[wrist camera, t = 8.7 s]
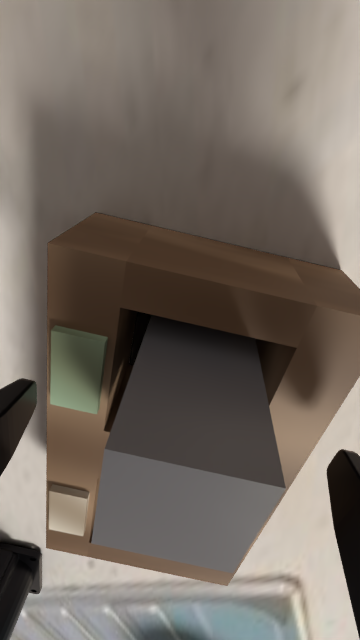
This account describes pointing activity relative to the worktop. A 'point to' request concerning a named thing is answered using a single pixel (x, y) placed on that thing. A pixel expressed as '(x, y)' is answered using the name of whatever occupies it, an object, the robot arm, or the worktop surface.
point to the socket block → (191, 307)
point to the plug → (190, 450)
